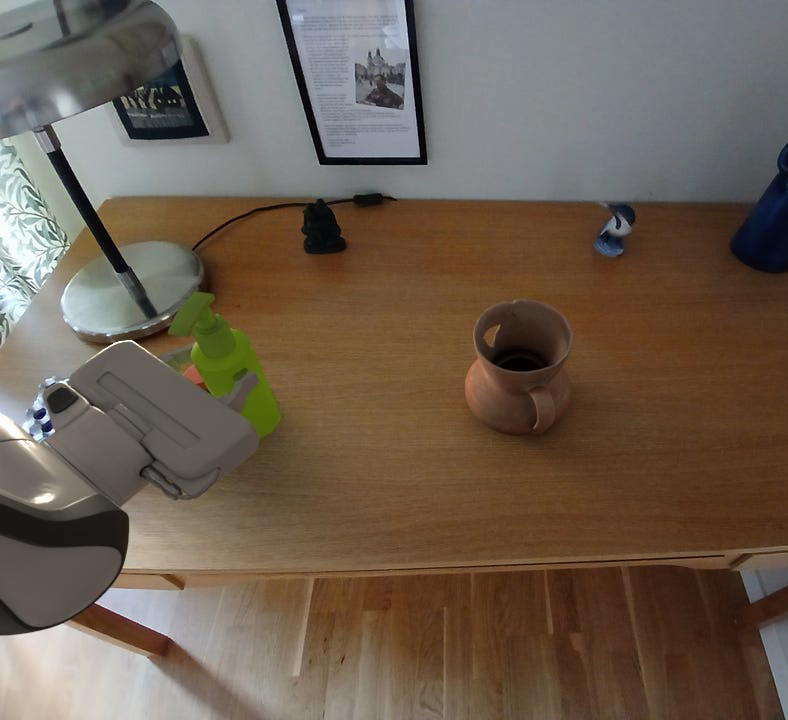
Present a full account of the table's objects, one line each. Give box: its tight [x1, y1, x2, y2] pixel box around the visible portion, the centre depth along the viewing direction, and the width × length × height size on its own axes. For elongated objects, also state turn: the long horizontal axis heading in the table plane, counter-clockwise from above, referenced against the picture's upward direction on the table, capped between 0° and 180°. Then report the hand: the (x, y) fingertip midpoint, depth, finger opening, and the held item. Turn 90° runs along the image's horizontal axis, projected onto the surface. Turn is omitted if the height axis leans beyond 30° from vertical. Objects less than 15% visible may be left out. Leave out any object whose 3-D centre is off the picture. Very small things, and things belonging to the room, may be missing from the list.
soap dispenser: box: [167, 291, 282, 439], centre depth 60 cm, size 6×7×20 cm
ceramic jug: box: [464, 298, 574, 437], centre depth 72 cm, size 18×14×14 cm
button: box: [183, 364, 209, 392], centre depth 74 cm, size 4×4×2 cm
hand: (229, 358), depth 60 cm, fingers closed on soap dispenser, 6 cm apart
